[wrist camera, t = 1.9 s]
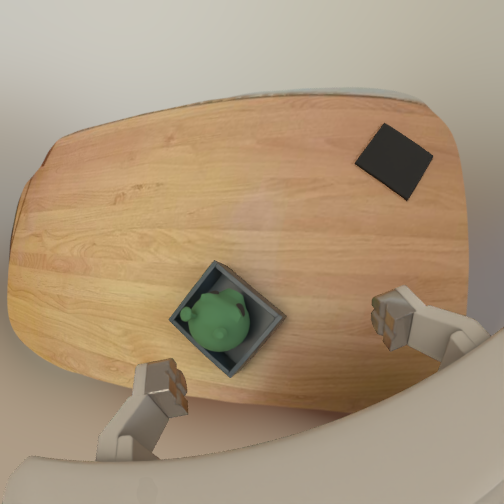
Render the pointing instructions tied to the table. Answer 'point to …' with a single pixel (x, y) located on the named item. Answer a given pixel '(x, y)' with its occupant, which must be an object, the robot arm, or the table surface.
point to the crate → (258, 307)
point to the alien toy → (218, 320)
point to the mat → (395, 160)
